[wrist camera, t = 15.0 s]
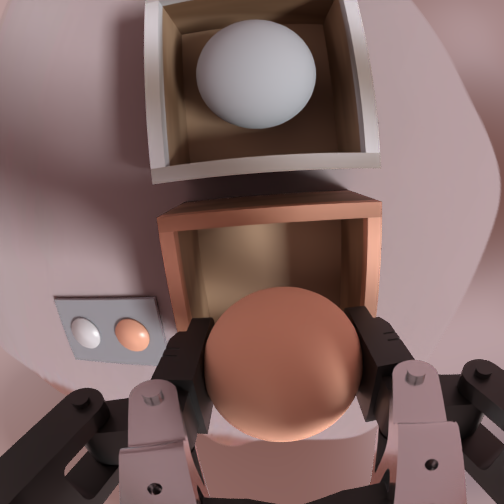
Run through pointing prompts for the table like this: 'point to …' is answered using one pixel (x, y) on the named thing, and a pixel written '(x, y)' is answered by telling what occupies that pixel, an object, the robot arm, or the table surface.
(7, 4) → the table surface
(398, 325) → the table surface
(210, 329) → the robot arm
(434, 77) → the table surface
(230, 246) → the terracotta-rimmed square box
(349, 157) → the grey-band box
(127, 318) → the card
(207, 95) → the grey ball
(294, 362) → the terracotta ball
